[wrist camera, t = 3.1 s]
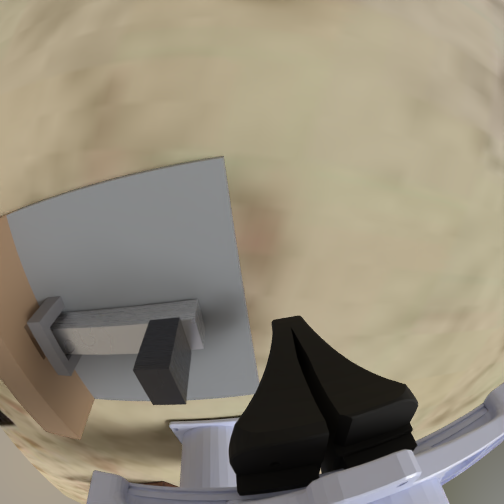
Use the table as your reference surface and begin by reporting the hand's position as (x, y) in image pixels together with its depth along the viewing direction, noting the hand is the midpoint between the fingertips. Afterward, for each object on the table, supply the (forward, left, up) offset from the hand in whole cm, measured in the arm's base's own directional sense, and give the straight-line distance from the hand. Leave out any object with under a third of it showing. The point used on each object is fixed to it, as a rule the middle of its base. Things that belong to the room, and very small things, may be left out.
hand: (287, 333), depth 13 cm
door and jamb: (0, +11, -4) cm, 12 cm away
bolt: (0, +9, -3) cm, 10 cm away
